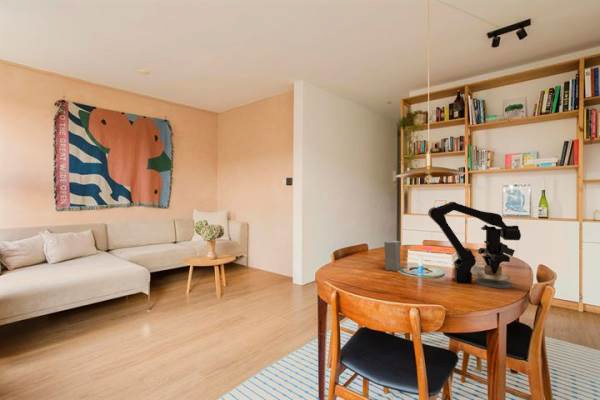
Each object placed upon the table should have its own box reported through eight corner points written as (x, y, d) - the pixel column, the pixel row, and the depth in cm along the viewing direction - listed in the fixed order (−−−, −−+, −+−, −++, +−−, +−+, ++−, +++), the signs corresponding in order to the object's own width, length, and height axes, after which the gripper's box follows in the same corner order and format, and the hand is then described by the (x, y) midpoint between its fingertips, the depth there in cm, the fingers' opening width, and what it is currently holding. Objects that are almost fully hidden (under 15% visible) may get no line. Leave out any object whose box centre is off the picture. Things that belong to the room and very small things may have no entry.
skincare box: (396, 271, 164) (396, 242, 163) (383, 269, 168) (383, 241, 168) (401, 268, 170) (401, 240, 170) (389, 266, 175) (389, 239, 174)
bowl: (475, 276, 152) (475, 267, 152) (467, 271, 163) (467, 262, 163) (499, 277, 150) (499, 267, 150) (489, 271, 161) (490, 262, 161)
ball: (480, 273, 155) (480, 265, 155) (477, 271, 159) (477, 264, 159) (489, 273, 154) (489, 266, 154) (485, 271, 158) (485, 264, 158)
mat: (482, 287, 135) (482, 285, 135) (469, 278, 150) (469, 276, 150) (519, 289, 132) (519, 287, 132) (502, 279, 147) (502, 277, 147)
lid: (483, 279, 136) (483, 268, 136) (472, 272, 148) (472, 262, 148) (515, 281, 133) (515, 269, 133) (501, 273, 146) (501, 263, 146)
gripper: (523, 243, 130) (522, 279, 130) (502, 237, 148) (502, 268, 149) (495, 242, 132) (494, 278, 132) (477, 236, 150) (477, 267, 151)
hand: (492, 272), depth 141 cm, fingers closed on lid, 3 cm apart
